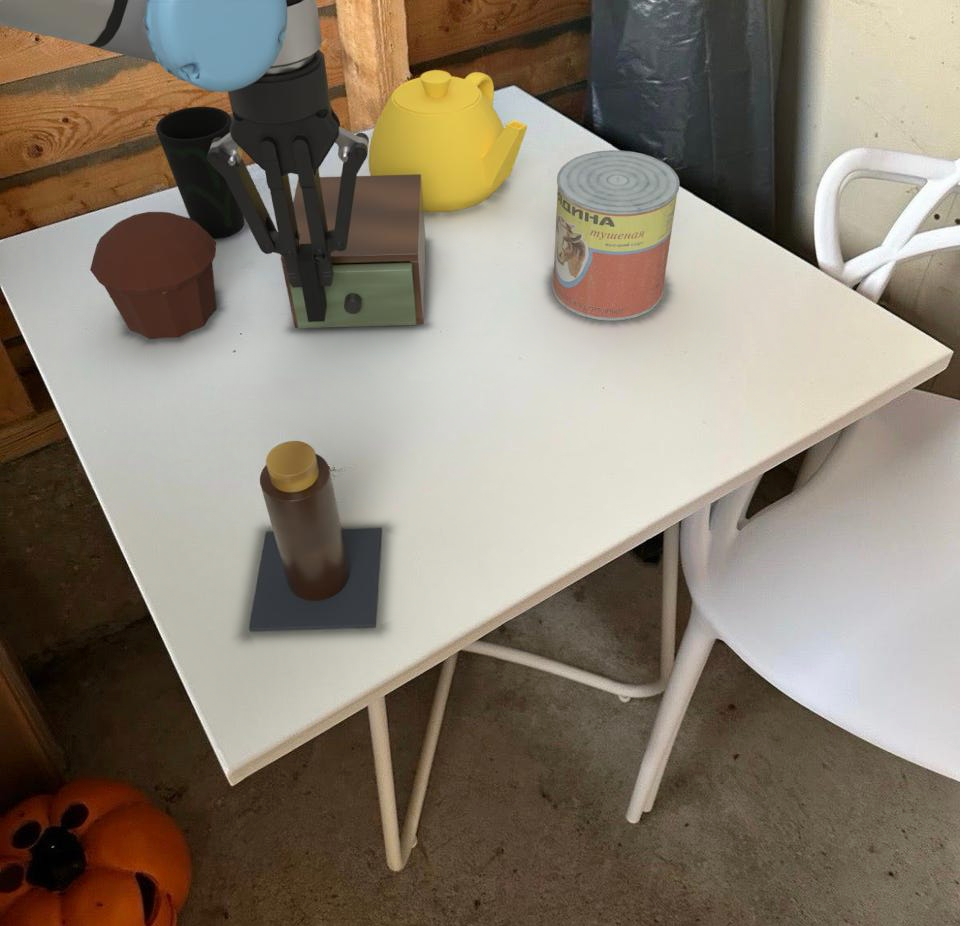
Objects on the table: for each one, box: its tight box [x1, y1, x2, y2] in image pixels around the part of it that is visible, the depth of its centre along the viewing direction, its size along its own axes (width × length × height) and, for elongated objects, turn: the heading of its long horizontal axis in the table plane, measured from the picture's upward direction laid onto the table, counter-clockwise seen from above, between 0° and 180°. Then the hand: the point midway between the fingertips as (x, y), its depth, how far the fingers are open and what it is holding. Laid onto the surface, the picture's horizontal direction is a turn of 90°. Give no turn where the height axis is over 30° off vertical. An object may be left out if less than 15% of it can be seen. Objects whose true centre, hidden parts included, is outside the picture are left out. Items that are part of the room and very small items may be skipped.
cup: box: [155, 106, 245, 240], centre depth 100 cm, size 8×8×12 cm
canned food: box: [551, 150, 681, 322], centre depth 90 cm, size 11×11×12 cm
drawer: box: [287, 261, 417, 329], centre depth 91 cm, size 15×11×6 cm
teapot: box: [368, 69, 528, 213], centre depth 105 cm, size 20×19×13 cm
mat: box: [248, 527, 383, 632], centre depth 69 cm, size 9×9×1 cm
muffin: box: [89, 211, 217, 340], centre depth 89 cm, size 12×11×10 cm
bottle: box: [259, 440, 349, 601], centre depth 65 cm, size 5×5×13 cm
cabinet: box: [280, 174, 427, 329], centre depth 93 cm, size 15×13×8 cm
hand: (317, 312), depth 85 cm, fingers closed
